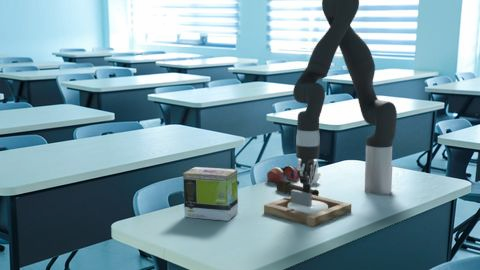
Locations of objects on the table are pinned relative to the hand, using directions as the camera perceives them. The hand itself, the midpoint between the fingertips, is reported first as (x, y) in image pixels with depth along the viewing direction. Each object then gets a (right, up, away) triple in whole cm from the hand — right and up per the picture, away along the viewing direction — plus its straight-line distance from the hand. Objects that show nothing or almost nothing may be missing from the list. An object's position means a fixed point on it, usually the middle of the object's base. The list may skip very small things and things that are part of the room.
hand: (306, 194), depth 203 cm
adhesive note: (+5, +4, +46) cm, 47 cm away
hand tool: (-3, -2, +16) cm, 16 cm away
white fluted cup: (+6, +1, +32) cm, 33 cm away
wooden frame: (0, -5, -4) cm, 7 cm away
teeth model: (-5, +1, +35) cm, 36 cm away
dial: (0, -5, -4) cm, 7 cm away
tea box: (-31, -6, -6) cm, 32 cm away
